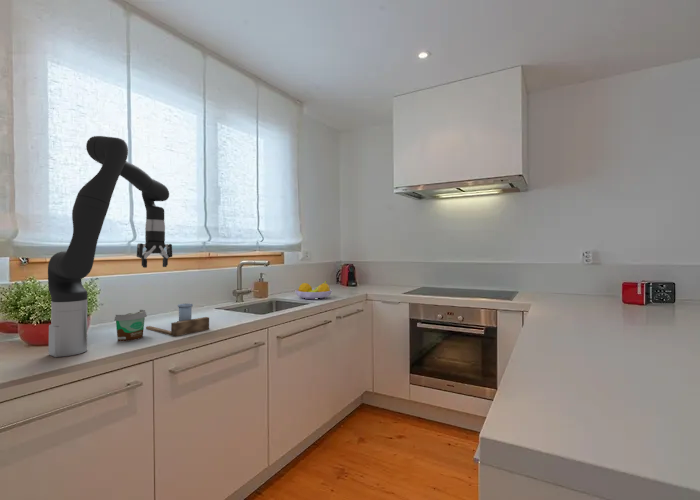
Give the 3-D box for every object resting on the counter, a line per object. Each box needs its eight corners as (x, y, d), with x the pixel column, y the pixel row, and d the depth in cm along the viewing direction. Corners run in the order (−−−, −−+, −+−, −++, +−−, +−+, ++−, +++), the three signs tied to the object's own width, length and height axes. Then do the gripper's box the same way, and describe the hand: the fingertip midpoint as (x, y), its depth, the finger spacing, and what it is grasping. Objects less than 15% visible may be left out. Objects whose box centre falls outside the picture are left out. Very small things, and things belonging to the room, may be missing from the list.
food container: (128, 343, 126) (128, 315, 126) (114, 342, 127) (114, 315, 127) (154, 335, 138) (154, 310, 138) (140, 334, 139) (140, 309, 139)
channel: (174, 336, 136) (174, 323, 136) (146, 329, 148) (146, 317, 148) (209, 329, 149) (209, 317, 149) (180, 322, 161) (180, 312, 161)
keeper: (182, 333, 142) (182, 306, 142) (174, 331, 145) (175, 304, 145) (195, 330, 146) (195, 304, 146) (187, 328, 149) (187, 303, 149)
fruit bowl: (309, 302, 228) (310, 284, 228) (287, 297, 248) (287, 281, 248) (342, 298, 247) (342, 282, 247) (319, 294, 267) (319, 279, 267)
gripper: (142, 229, 145) (142, 268, 145) (175, 231, 157) (175, 267, 157) (133, 229, 150) (133, 267, 150) (166, 231, 161) (166, 266, 161)
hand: (155, 267), depth 153 cm, fingers open, 8 cm apart
